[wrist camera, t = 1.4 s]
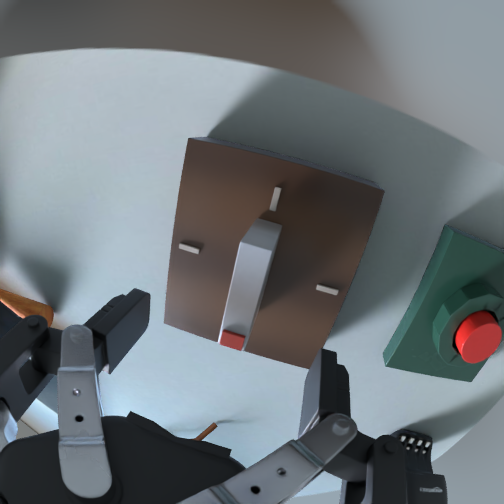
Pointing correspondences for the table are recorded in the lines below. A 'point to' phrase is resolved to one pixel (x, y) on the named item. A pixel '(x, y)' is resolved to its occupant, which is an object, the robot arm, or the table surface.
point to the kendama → (26, 306)
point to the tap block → (287, 251)
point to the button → (478, 336)
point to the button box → (449, 307)
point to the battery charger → (421, 470)
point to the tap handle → (248, 282)
